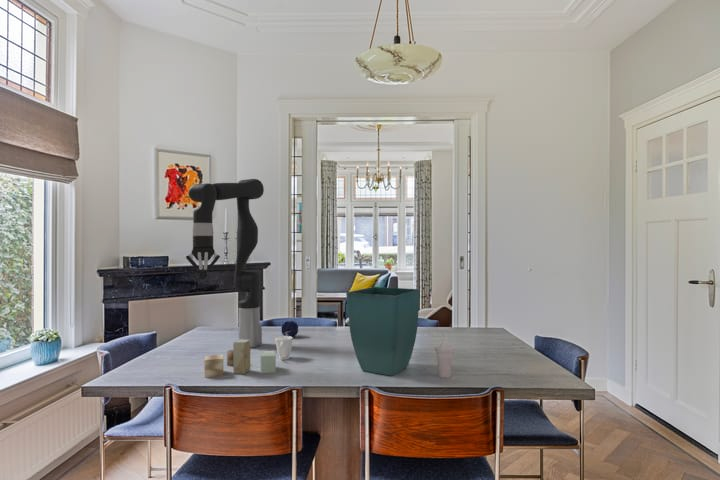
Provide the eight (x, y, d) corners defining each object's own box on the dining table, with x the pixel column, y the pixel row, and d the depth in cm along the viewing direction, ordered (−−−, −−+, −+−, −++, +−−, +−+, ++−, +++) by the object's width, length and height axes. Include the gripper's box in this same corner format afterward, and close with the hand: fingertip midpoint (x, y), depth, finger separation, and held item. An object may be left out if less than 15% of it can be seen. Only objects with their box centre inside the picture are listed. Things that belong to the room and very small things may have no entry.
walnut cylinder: (236, 361, 167) (236, 348, 167) (243, 364, 164) (243, 351, 164) (224, 364, 164) (224, 351, 164) (231, 367, 160) (231, 353, 160)
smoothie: (433, 373, 149) (432, 332, 149) (451, 372, 150) (450, 332, 150) (438, 379, 143) (437, 336, 143) (456, 378, 143) (456, 336, 143)
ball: (296, 338, 206) (296, 322, 206) (280, 339, 207) (280, 323, 207) (299, 335, 214) (298, 319, 214) (283, 335, 215) (283, 320, 215)
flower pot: (396, 381, 141) (395, 295, 141) (345, 372, 151) (345, 292, 151) (421, 366, 158) (420, 289, 158) (374, 359, 168) (373, 286, 168)
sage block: (274, 367, 160) (274, 350, 160) (275, 372, 153) (275, 355, 153) (260, 368, 158) (260, 351, 158) (261, 373, 152) (261, 356, 152)
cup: (294, 355, 175) (294, 335, 175) (289, 362, 165) (289, 341, 165) (277, 355, 175) (277, 335, 175) (271, 362, 165) (271, 341, 165)
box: (244, 374, 151) (243, 342, 151) (232, 373, 152) (232, 342, 152) (251, 369, 156) (250, 339, 156) (240, 369, 157) (239, 338, 157)
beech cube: (223, 371, 155) (223, 354, 155) (223, 375, 150) (222, 358, 150) (205, 372, 154) (205, 355, 154) (204, 377, 148) (204, 360, 148)
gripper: (183, 234, 163) (184, 280, 163) (220, 234, 166) (220, 279, 166) (186, 235, 170) (186, 279, 170) (221, 235, 174) (221, 278, 173)
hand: (203, 279), depth 168 cm, fingers closed
